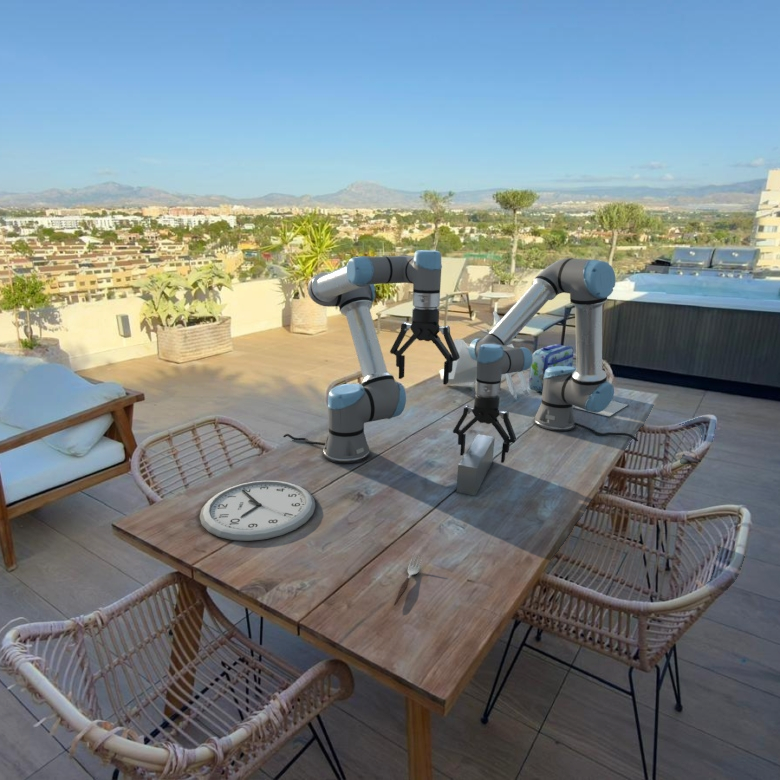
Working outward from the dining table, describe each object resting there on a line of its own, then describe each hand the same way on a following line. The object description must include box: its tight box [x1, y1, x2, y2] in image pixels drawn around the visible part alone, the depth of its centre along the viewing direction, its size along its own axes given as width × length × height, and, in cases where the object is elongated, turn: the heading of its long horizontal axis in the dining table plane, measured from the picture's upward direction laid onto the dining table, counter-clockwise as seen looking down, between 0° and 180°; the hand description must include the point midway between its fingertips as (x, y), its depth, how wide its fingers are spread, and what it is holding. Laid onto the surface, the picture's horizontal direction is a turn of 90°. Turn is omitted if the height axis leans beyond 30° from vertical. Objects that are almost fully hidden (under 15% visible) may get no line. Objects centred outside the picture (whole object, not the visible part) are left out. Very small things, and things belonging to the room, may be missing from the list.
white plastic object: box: [438, 310, 531, 400], centre depth 245 cm, size 37×45×31 cm
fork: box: [393, 553, 424, 606], centre depth 112 cm, size 3×16×2 cm, turn 160°
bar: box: [456, 433, 496, 497], centre depth 160 cm, size 25×6×9 cm, turn 158°
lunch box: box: [528, 344, 574, 393], centre depth 247 cm, size 26×11×21 cm, turn 134°
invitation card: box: [573, 400, 629, 418], centre depth 226 cm, size 21×1×15 cm
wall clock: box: [199, 480, 316, 542], centre depth 140 cm, size 30×2×30 cm
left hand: (423, 380), depth 152 cm, fingers open, 13 cm apart
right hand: (482, 457), depth 168 cm, fingers open, 12 cm apart
